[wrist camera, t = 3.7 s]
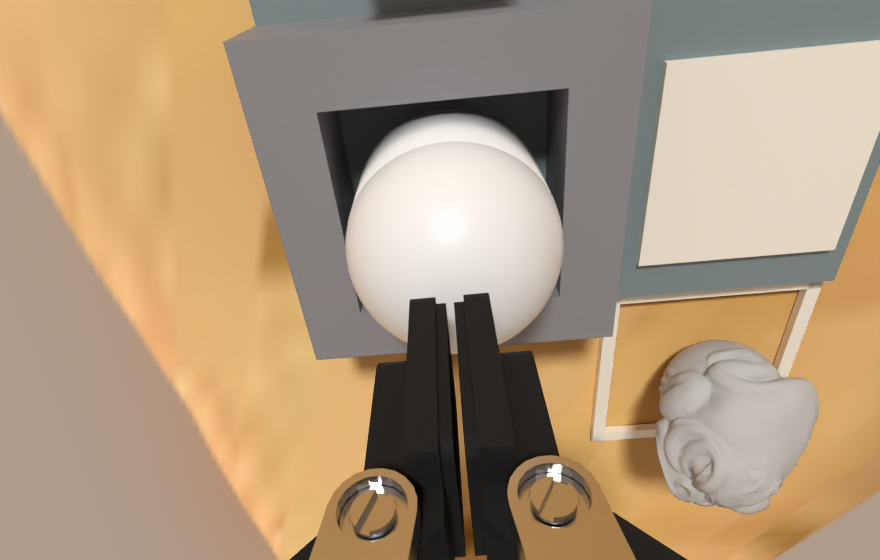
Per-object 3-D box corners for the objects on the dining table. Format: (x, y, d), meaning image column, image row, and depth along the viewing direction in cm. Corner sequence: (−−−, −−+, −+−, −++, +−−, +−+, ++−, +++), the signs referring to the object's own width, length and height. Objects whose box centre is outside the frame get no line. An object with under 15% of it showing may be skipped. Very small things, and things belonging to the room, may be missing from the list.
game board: (147, -449, 12) (-18, -675, 7) (1134, -585, 11) (1592, -926, 7) (371, 451, 28) (360, 541, 24) (764, 422, 28) (824, 511, 23)
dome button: (342, 118, 16) (301, 203, 11) (543, 99, 15) (599, 176, 10) (374, 284, 19) (354, 409, 14) (540, 270, 19) (580, 392, 14)
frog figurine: (595, 375, 26) (644, 503, 20) (716, 282, 23) (815, 401, 17) (671, 426, 28) (735, 556, 22) (791, 348, 25) (901, 473, 19)
